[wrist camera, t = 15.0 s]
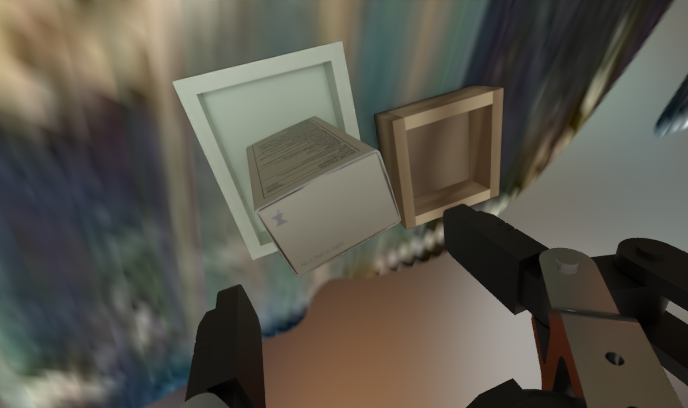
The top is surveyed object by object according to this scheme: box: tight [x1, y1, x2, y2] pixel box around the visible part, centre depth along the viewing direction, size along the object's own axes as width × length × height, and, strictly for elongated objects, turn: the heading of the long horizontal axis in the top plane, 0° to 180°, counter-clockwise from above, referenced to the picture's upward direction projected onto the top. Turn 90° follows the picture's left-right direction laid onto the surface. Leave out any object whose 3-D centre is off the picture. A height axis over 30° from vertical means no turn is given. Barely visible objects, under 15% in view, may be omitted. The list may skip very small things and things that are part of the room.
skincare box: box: [246, 116, 401, 277], centre depth 19 cm, size 6×4×12 cm
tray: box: [173, 41, 360, 260], centre depth 24 cm, size 11×14×3 cm
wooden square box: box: [374, 85, 503, 229], centre depth 27 cm, size 10×10×4 cm
